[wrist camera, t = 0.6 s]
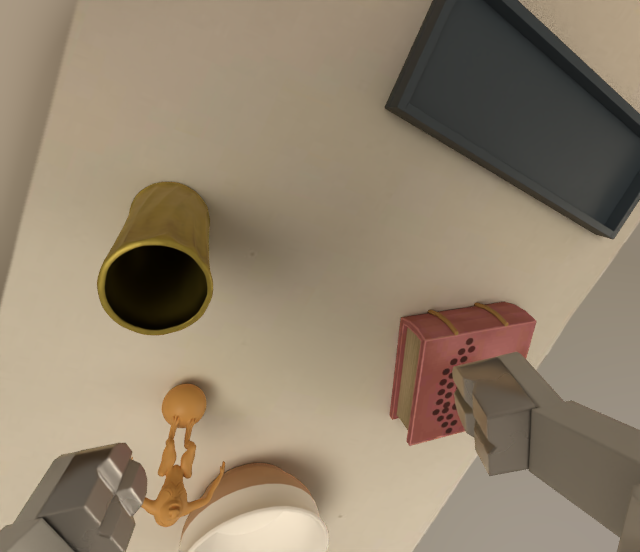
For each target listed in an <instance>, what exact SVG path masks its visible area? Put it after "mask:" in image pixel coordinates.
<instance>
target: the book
mask: <svg viewBox="0 0 640 552" xmlns="http://www.w3.org/2000/svg"><path fill="white" fill-rule="evenodd" d="M535 325H536V320H535V319H534V318H533V317H532V316H530V315H529V314H528V313H527V312H526V311H525V310H523V309H521V308H520V307H518V306H516V305H514V304H510V303H506V302H499V303H493V304H486V305H483V304H480V303H475V304H474V306H473V307H467V308H460V309H453V310H447V311H440V312H436V311H433V310H429V311H428V313H427V314H421V315H414V316H408V317H401V321H400V330H399V339H398V347H397V356H396V365H395V373H394V382H393V391H392V399H391V408H390V417H391V418H392V420H393V419H397V418H399V419H400V420H401V421H402V422H403V424H404V425H405V427H406V428H407V430H408V435H407V443H408V444H409V446H411V445H415V444H419V443H423V442H426V441H430V440H434V439H438V438H441V437H445V436H449V435H453V434H456V433H460V432H464V431H465V429H464V427H463V425H462V423H461V420H460V418H459V415H458V412H457V408H456V404H455V397H454V393H455V391H456V390H457V386H456V384H455V382H454V381H453V374H452V370H453V367H454V366H459V365H463V364H467V363H471V362H475V361H480V360H484V359H488V358H492V357H494V358H495V357H496V356H500V355H504V354H509V353H513V352H518V353H520V354H522V356H523V357H524V358H525V359H526V357H527V354H528V350H529V346H530V343H531V339H532V336H533V332H534V329H535Z"/></svg>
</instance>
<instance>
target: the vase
mask: <svg viewBox="0 0 640 552" xmlns="http://www.w3.org/2000/svg"><path fill="white" fill-rule="evenodd" d="M209 227H210V218H209V213H208V208H207V206H206V204H205V202H204V201H203V199H202V198H201V197H200V196H199V195H198V194H197V193H196V192H195V191H194V190H192V189H191V188H189V187H187V186H185V185H183V184H180V183H176V182H160V183H154V184H152V185H150V186H148V187H146V188H144V189H143V190H142V191H140V192H139V193H138V194H137V195H136V197H135V198H134V200H133V202H132V204H131V207H130V212H129V216H128V218H127V220H126V222H125V225H124V227H123V228H122V230H121V232H120V234H119V236H118V238H117V240H116V241H115V243H114V245H113V247H112V248H111V250H110V252H109V254H108V255H107V257H106V258H105V260H104V262H103V264H102V266H101V269H100V272H99V276H98V280H97V289H98V295H99V299H100V302H101V304H102V306H103V308H104V310H105V312H106V313H107V314H108V315H109V316H110V317H111V318H112V319H113V320H114V321H115V322H116V323H118V324H119V325H121V326H122V327H124V328H127V329H129V330H131V331H134V332H137V333H140V334H144V335H164V334H168V333H172V332H176V331H179V330H182V329H184V328H186V327H188V326H190V325H191V324H193V323H194V322H196V321H197V320H198V319H200V317H201V316H202V315H203V314H204V312H205V311H206V309H207V307H208V305H209V303H210V301H211V298H212V294H213V280H212V275H211V271H210V264H209Z"/></svg>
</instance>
